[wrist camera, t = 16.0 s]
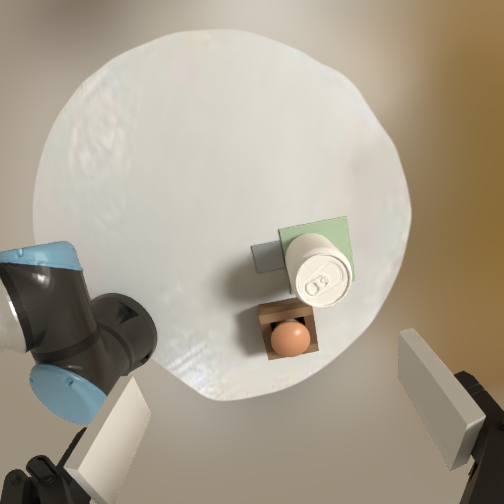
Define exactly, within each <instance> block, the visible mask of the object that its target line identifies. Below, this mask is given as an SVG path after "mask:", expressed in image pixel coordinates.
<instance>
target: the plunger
mask: <svg viewBox="0 0 504 504" xmlns="http://www.w3.org/2000/svg"><path fill="white" fill-rule="evenodd" d="M309 344H310V335H309V331H308V329H307V328H306V326H304V325H303V324H302V323H301V322H300V319H299V317H298V318H293V319H288V320H282V321H277V322H276V327H275V329H274V330H273V332H272V335H271V345H272V347H273V349H274V351H275V352H276V353H278V354H279V355H281V356H284V357H294V356H298V355H300V354H302V353H303V352H304V351H305V350H306V349H307V348H308V346H309Z"/></svg>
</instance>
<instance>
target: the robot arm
mask: <svg viewBox="0 0 504 504" xmlns="http://www.w3.org/2000/svg"><path fill="white" fill-rule="evenodd" d="M398 334H399V335H398V379H399V380H400V382H401V383H402V385H403V387H404V389H405V390H406V392H407V394H408V395H409V397H410V399H411V400H412V402H413V404H414V406H415V407H416V409H417V411H418V413H419V414H420V416H421V418H422V420H423V421H424V423H425V425H426V427H427V429H428V431H429V432H430V434H431V436H432V438H433V440H434V441H435V443H436V445H437V447H438V449H439V451H440V452H441V454H442V456H443V458H444V460H445V462H446V464H447V466H448V468H449V470H450V471H451V470H453V469H456V468H458V467H460V466H462V465H464V464H466V463H467V462H468V460H469V458H470V455H472V456H473V458H474V460H475V462H474V464H473V466H472V468H471V470H470V472H469V474H468V475H470V476H469V479H468V482H467V485H466V488H465V490H464V493H463V496H462V498H461V501H460V504H504V411H503V410H502V409H501V408H500V406H499V405H498V404H497V403H496V402H495V401H494V399H493V398H492V397H491V396H490V395H489V393H488V392H487V391H486V390H484V388H483V387H482V385H480V384H479V382H478V381H477V380H476V379H475V377H474V376H473V375H471V374H469V373H467V372H465V371H462V372H459V373H457V374H455V375H453V374H452V373H451V372H450V370H449V369H448V368H447V367H446V366H445V364H444V363H443V362H442V361H441V360H440V358H439V357H438V356H437V355H436V354H435V353H434V351H433V350H432V349H431V348H430V347H429V346H428V344H427V343H426V342H425V341H424V340H423V339H422V338H421V337H420V335H419V334H418V333H417V332H416V331H415V330H414V329H413V328H410V329H407V330H403V331H399V333H398ZM156 345H157V331H156V327H155V324H154V322H153V320H152V318H151V316H150V315H149V314H148V312H147V311H146V310H145V309H144V308H143V307H142V306H141V305H140V304H139V303H138V302H136V301H135V300H133V299H132V298H130V297H128V296H125V295H122V294H117V293H108V294H104V295H101V296H99V297H98V298H96V299H95V300H94V301H93V302H92V303H91V299H90V296H89V293H88V290H87V286H86V283H85V279H84V276H83V268H82V267H81V266H80V263H79V260H78V256H77V253H76V250H75V248H74V246H73V245H72V244H71V243H69V242H67V241H59V242H53V243H48V244H42V245H36V246H31V247H25V248H20V249H13V250H8V251H3V252H0V352H2V351H4V350H6V349H11V350H13V351H15V352H18V353H20V354H23V353H26V352H28V351H29V350H30V351H31V353H32V356H33V358H34V360H35V363H36V365H35V366H34V367H33V368H32V370H31V373H30V384H31V387H32V389H33V391H34V393H35V394H36V396H37V397H38V399H39V400H40V401H41V402H42V403H43V404H44V405H45V406H46V407H47V408H48V409H49V410H50V411H52V412H53V413H55V414H56V415H58V416H59V417H61V418H63V419H65V420H67V421H69V422H72V423H76V424H81V425H88V424H89V426H88V428H86V427H85V428H83V429H82V430H81V431H80V432H78V433H77V434H76V436H75V438H74V439H73V441H72V443H71V444H70V445H69V449H67V450H66V452H65V453H64V455H63V457H62V458H61V460H60V461H59V463H58V465H57V466H55V465H54V464H53V463H52V462H51V460H50V459H49V458H48V457H46V456H44V455H39V456H35V457H33V458H32V459H31V460H30V461H28V463H27V465H26V470H27V472H28V473H29V474H30V475H31V476H32V477H28V476H27V475H26V474H25V473H24V472H23V471H22V470H20V469H16V470H12V471H11V472H9V473H8V474H7V475H6V477H5V480H4V485H3V490H2V495H1V501H0V504H90V503H89V502H90V500H91V498H92V499H93V500H94V501H95V502H96V503H97V504H115V501H116V499H117V497H118V494H119V492H120V489H121V487H122V484H123V482H124V480H125V477H126V475H127V472H128V470H129V467H130V465H131V463H132V460H133V458H134V456H135V453H136V451H137V449H138V446H139V444H140V441H141V439H142V437H143V435H144V432H145V430H146V428H147V425H148V423H149V420H150V418H151V416H152V414H151V412H150V410H149V408H148V406H147V404H146V402H145V400H144V398H143V396H142V394H141V392H140V390H139V388H138V386H137V384H136V382H135V379H134V377H133V376H128V374H129V372H131V371H133V370H135V369H136V368H138V367H140V366H142V365H143V364H145V363H146V362H147V361H148V360H149V359H150V357H151V356H152V354H153V352H154V350H155V348H156Z"/></svg>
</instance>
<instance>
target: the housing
mask: <svg viewBox="0 0 504 504" xmlns="http://www.w3.org/2000/svg"><path fill="white" fill-rule="evenodd" d="M258 316H259V321H260V325H261V329H262V334H263V338H264V342H265V346H266V351H267V355H268V359H269V360H273V359H279V358H284V356H281V355H279V354H278V353H276V352H275V351H274V349H273V347H272V345H271V335H272V332H273V326H272V322H277V321H282V320H288V319H293V318H298V317H303V321H304V326H306V328H307V329H308V331H309V335H310V344H309V346H308V348H307V349H306V350H305V351H304V352H303V353H302V354H305V353H310V352H315V351H319V349H318V342H317V335H316V328H315V321H314V315H313V308H312V306H310V305H307V304H305V303H304V302H302V301H301V300H300V299H299V298H298V297H296V298H291V299H286V300H281V301H276V302H271V303H265V304H260V305H259V315H258Z"/></svg>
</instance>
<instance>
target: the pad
mask: <svg viewBox="0 0 504 504" xmlns="http://www.w3.org/2000/svg"><path fill="white" fill-rule="evenodd" d="M279 231H280V236H281V242H282V247H283V252H284V257H285V256H286V251H287V249H288V247H289V245H290V244H291V242H292V241H293V240H294V239H296V238H297V237H299V236H300V235H303V234H307V233H316V234H320V235H322V236H324V237H326V238H327V239H328V240H329V241H330V242H331V243H332V244H333V245H334V246H335V247H336V248H337V249H338V250H339V251H340V252H341V253H342V254H343V255H344V256H345V257H346V258H347V260H348V261H349V263H350V266H351V270H352V280H351V282H352V281H355V273H354V265H353V257H352V249H351V242H350V235H349V228H348V222H347V216H344V217H339V218H334V219H329V220H324V221H319V222H314V223H308V224H303V225H298V226H293V227H288V228H283V229H279ZM287 272H288V270H287ZM288 278H289V274H288ZM289 283H290V288H291V294H295V293H294V291H293V289H292V286H291V282H290V278H289Z"/></svg>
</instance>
